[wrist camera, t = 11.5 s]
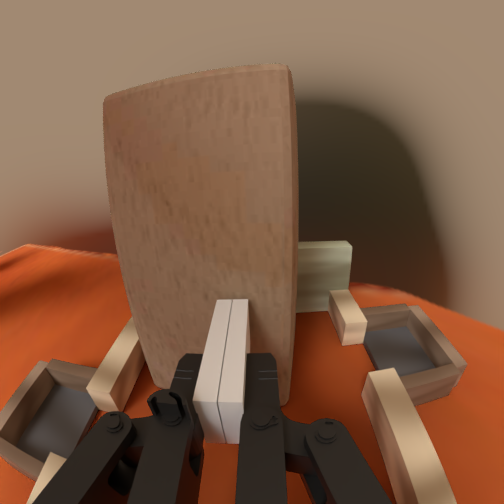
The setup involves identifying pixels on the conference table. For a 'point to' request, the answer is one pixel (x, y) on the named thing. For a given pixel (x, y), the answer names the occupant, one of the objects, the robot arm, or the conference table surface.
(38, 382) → the tray
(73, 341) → the conference table surface
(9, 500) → the conference table surface
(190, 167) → the wooden block
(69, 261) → the conference table surface
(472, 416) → the conference table surface
